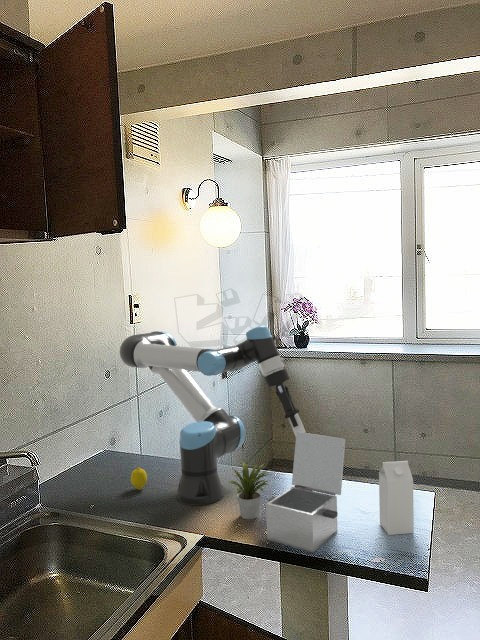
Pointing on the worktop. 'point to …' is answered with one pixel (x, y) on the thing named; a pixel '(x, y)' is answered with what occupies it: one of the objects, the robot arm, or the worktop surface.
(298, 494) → the white hinged box
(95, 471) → the worktop surface
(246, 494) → the house plant
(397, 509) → the milk carton
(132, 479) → the fruit
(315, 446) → the lid
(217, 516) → the worktop surface
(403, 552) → the worktop surface
